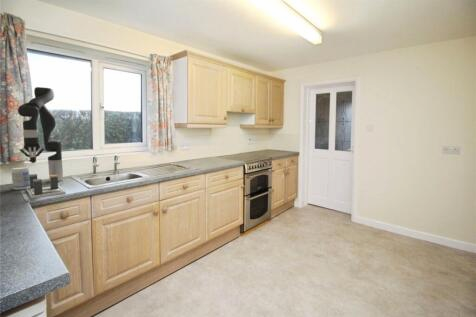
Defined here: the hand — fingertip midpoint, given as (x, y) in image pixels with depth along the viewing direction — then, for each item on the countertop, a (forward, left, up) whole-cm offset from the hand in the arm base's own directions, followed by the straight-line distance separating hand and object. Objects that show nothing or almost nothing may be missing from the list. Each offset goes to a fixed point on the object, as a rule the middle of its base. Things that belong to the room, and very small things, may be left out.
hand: (33, 162), depth 169 cm
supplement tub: (-21, -6, -21) cm, 30 cm away
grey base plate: (+1, +5, -21) cm, 21 cm away
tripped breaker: (+1, +10, -19) cm, 21 cm away
